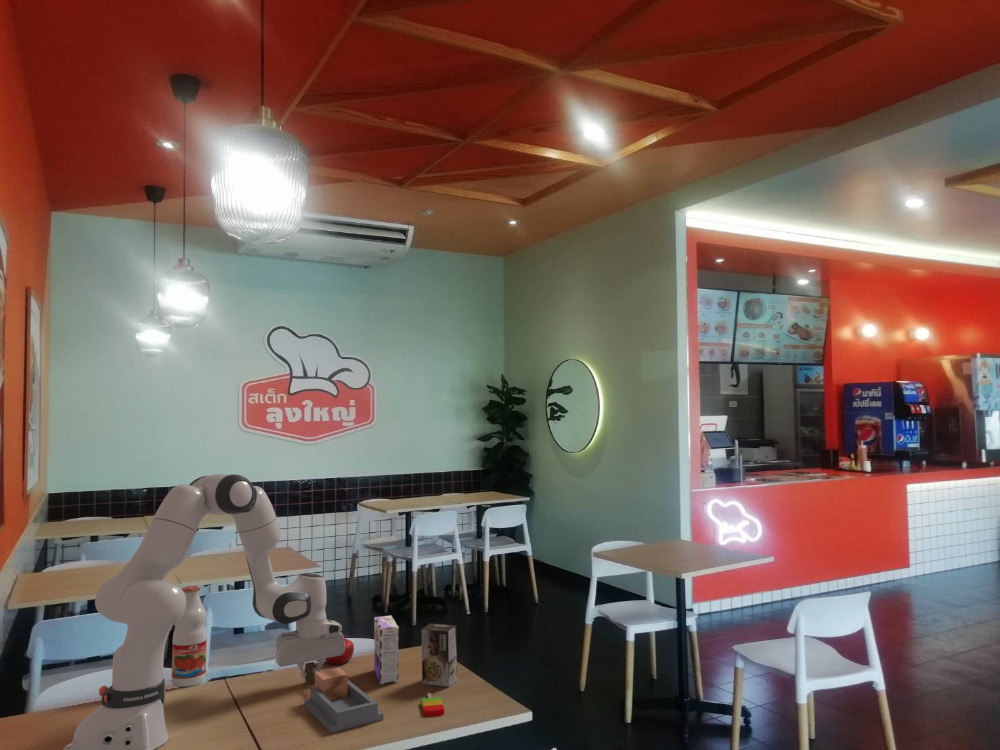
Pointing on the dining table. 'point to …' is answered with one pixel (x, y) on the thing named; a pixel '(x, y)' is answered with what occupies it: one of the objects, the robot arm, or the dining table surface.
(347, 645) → the pomegranate
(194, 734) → the dining table surface
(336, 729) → the shelf lane
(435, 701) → the popsicle
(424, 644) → the coffee box
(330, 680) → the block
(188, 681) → the fruit juice
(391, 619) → the candy box
